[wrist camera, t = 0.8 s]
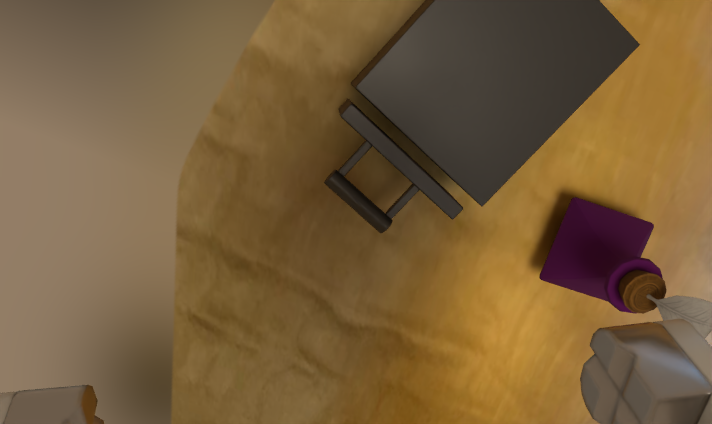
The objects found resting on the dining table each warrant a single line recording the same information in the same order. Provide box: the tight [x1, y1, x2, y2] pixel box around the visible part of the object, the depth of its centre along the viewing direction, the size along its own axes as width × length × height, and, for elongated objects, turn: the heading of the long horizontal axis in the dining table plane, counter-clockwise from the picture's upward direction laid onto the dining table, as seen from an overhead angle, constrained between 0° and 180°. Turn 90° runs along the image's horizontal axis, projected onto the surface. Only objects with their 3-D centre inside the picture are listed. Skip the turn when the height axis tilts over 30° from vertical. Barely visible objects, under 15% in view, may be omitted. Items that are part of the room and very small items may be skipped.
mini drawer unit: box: [351, 0, 640, 206], centre depth 49 cm, size 16×13×9 cm
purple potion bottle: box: [540, 197, 712, 339], centre depth 48 cm, size 8×8×18 cm
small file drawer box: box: [324, 99, 463, 233], centre depth 49 cm, size 19×11×7 cm, turn 137°
